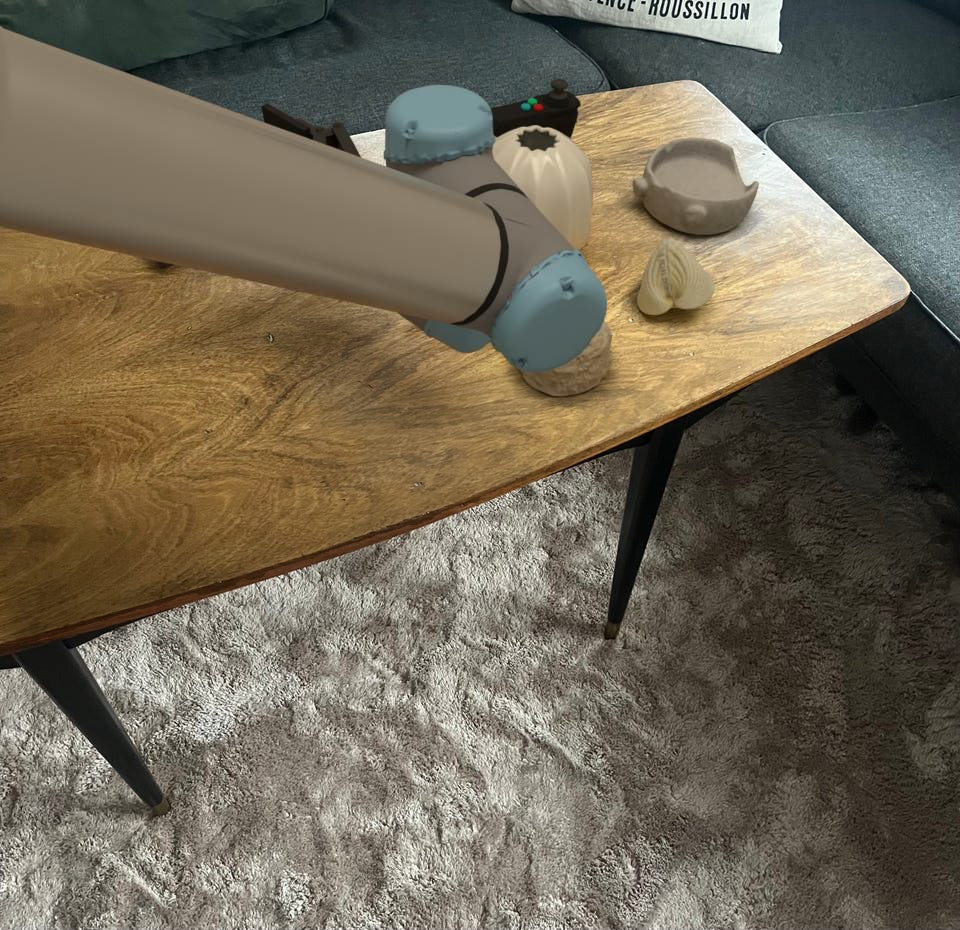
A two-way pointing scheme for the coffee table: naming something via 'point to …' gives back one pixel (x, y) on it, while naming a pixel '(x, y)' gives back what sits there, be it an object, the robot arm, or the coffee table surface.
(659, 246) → the seashell
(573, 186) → the vase
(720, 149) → the dish
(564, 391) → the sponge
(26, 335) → the coffee table surface
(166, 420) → the coffee table surface
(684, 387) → the coffee table surface
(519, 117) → the controller
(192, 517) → the coffee table surface
